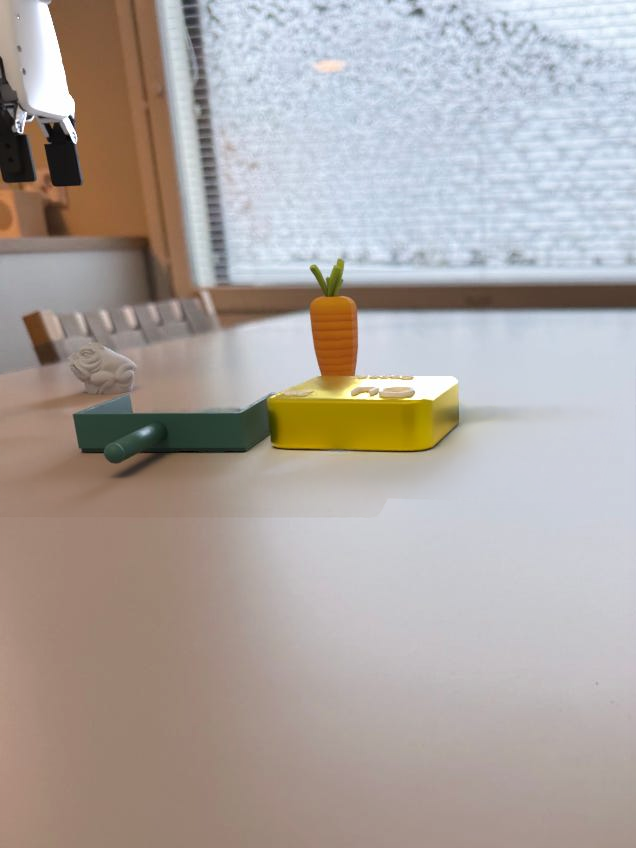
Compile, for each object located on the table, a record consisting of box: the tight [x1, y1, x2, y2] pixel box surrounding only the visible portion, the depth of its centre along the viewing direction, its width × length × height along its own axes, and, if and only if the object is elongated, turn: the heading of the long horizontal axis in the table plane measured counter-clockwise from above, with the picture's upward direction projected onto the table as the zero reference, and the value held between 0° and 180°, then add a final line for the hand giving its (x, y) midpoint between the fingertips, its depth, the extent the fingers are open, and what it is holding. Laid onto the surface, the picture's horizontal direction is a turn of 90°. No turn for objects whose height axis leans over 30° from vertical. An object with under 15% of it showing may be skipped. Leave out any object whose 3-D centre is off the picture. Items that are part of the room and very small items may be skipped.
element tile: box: [267, 374, 460, 452], centre depth 88 cm, size 15×15×5 cm
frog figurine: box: [66, 341, 138, 396], centre depth 105 cm, size 6×7×7 cm
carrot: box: [309, 258, 359, 376], centre depth 102 cm, size 5×5×15 cm
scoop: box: [72, 392, 276, 465], centre depth 83 cm, size 21×15×3 cm
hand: (45, 184), depth 96 cm, fingers open, 9 cm apart
